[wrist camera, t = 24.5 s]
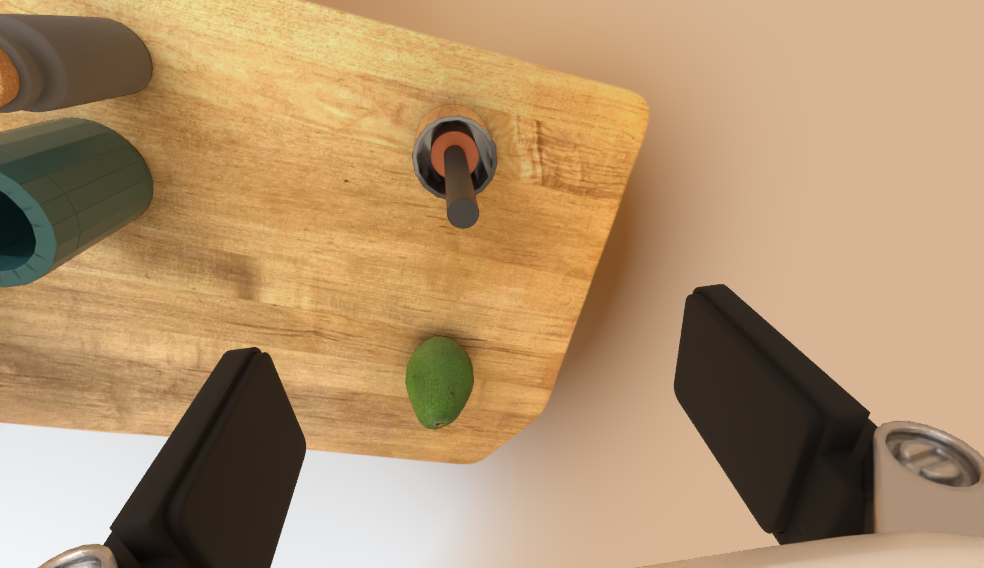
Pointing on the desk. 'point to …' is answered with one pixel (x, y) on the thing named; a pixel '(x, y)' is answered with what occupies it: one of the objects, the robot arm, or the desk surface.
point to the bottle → (67, 61)
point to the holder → (423, 148)
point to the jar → (64, 193)
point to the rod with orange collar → (457, 171)
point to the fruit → (439, 381)
